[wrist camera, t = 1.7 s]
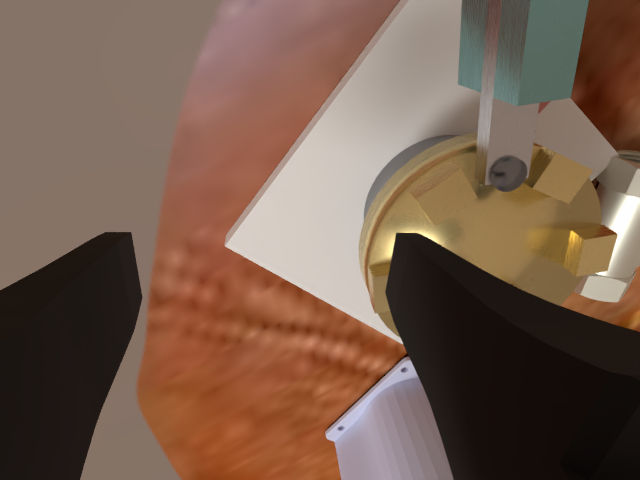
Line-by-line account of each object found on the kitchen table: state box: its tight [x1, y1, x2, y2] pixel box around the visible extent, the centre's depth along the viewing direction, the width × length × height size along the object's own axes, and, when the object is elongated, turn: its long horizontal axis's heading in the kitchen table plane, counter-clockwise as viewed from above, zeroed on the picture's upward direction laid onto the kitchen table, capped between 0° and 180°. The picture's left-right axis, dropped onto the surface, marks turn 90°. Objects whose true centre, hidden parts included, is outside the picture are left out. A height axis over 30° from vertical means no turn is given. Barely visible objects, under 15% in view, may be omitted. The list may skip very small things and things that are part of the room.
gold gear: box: [359, 0, 618, 337], centre depth 15 cm, size 18×10×4 cm, turn 7°
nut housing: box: [225, 0, 619, 344], centre depth 20 cm, size 16×14×4 cm
